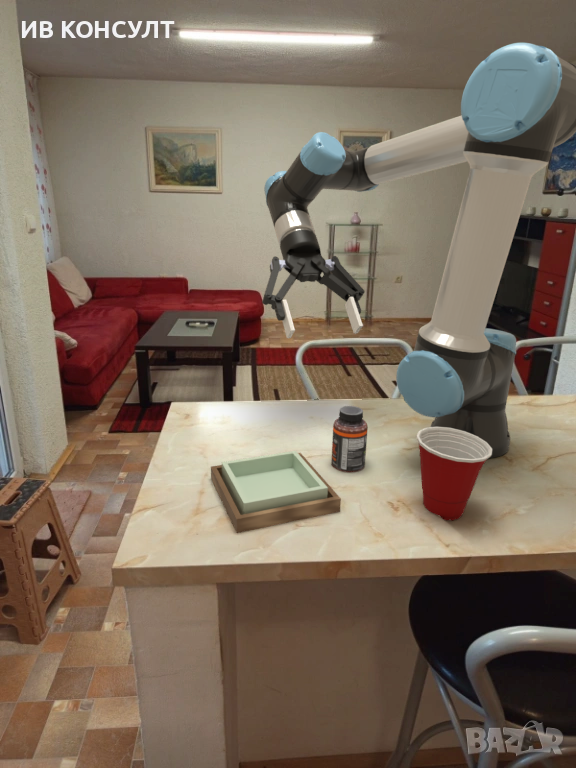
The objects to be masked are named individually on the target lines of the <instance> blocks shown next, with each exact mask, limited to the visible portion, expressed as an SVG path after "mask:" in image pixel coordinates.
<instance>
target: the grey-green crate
mask: <svg viewBox="0 0 576 768" xmlns="http://www.w3.org/2000/svg"><path fill="white" fill-rule="evenodd" d="M298 453H299V452H297V450H292V451H291V450H290V451H285V452H278V453H272V454H265V455H260V456H253V457H247V458H240V459H234V460H233V459H232V460H226V461H222V462H221V465H222V480H223V482H224V483H225V485H226V487H227V489H228V491H229V493H230V495H231V497H232V499H233V501H234V503H235V505H236V507H237V509H238V511H239V513H240V515H243V514H248V513H254V512H259V511H264V510H269V509H274V508H279V507H284V506H289V505H295V504H300V503H305V502H310V501H315V500H320V499H325V498H327V494H328V487H327V486H326V485H325V484H324V483H323V482H322V480H321V479H320V478H319V477H318V476H317V475H316V474H315V472H314V471H313V470H312V469H311V468H310V467H309V465H308V464H307V463H306V462H305V461H304V460H303V459H302V457H301V456H300V455H299V454H298Z"/></svg>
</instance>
